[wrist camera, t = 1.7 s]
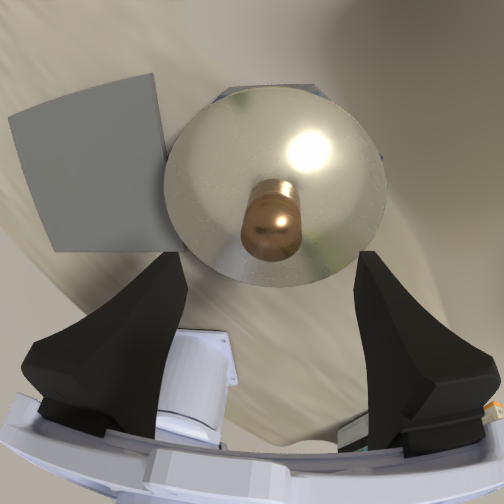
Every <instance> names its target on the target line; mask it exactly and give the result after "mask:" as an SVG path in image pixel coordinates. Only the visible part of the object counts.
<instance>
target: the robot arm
mask: <svg viewBox="0 0 504 504" xmlns="http://www.w3.org/2000/svg"><path fill="white" fill-rule="evenodd" d="M187 291H188V287H187V284H186V280H185V276H184V272H183V269H182V265H181V261H180V257H179V253H178V252H163V253H162V254H161V255H160V256H159V257H158V258H156V259H155V260H154V261H153V262H152V263H151V264H150V265H149V266H148V267H147V268H146V269H145V270H144V271H143V272H142V273H140V274H139V275H138V276H137V277H136V278H135V279H134V280H133V281H132V282H131V283H130V284H128V285H127V286H126V287H125V288H124V289H123V290H121V291H120V292H119V293H118V294H117V295H116V296H114V297H113V298H112V299H111V300H109V301H108V302H107V303H105V304H104V305H103V306H101V307H100V308H99V309H97V310H96V311H94V312H93V313H91V314H89V315H88V316H86V317H85V318H83V319H82V320H80V321H78V322H77V323H75V324H73V325H71V326H69V327H68V328H66V329H64V330H62V331H60V332H58V333H55V334H53V335H51V336H49V337H46V338H44V339H42V340H39V341H37V342H34V343H33V345H32V347H31V349H30V350H29V352H28V354H27V356H26V357H25V359H24V361H23V363H22V365H21V370H22V372H23V374H24V376H25V377H26V378H27V380H28V381H29V382H30V383H31V384H32V385H33V386H34V387H35V388H36V389H37V390H38V391H39V392H40V394H42V396H43V397H44V398H43V400H42V402H40V401H38V400H36V399H34V398H32V397H29V396H27V395H24V394H22V393H17V394H16V397H15V398H14V400H13V403H12V405H11V407H10V409H9V411H8V413H7V415H6V418H5V420H4V422H3V424H2V427H1V429H0V442H1V443H2V444H3V445H5V446H6V447H8V448H9V449H10V450H12V451H13V452H15V453H17V454H18V455H19V456H21V457H23V458H24V459H25V460H27V461H29V462H30V463H32V464H34V465H36V466H38V467H40V468H42V469H44V470H46V471H48V472H50V473H53V474H54V475H57V476H59V477H61V478H63V479H65V480H68V481H70V482H72V483H74V484H77V485H79V486H82V487H84V488H86V489H89V490H91V491H94V492H97V493H99V494H102V495H104V496H107V497H110V498H111V499H112V500H113V502H114V503H115V504H460V503H464V502H466V501H469V500H473V499H476V498H479V497H481V496H484V495H487V494H490V493H492V492H494V491H496V490H498V489H500V488H502V487H503V486H504V418H500V419H497V420H493V421H491V422H488V423H486V424H485V425H483V422H482V418H483V417H484V416H485V412H484V408H483V406H484V405H485V404H486V403H487V401H488V400H489V399H490V398H491V397H492V396H493V395H494V394H495V392H496V391H497V390H498V388H499V386H500V383H501V378H500V375H499V372H498V369H497V366H496V364H495V362H494V359H493V357H492V356H490V355H488V354H486V353H485V352H483V351H481V350H479V349H477V348H475V347H474V346H472V345H471V344H469V343H468V342H466V341H465V340H463V339H461V338H460V337H458V336H457V335H456V334H454V333H453V332H452V331H450V330H449V329H448V328H446V327H445V326H444V325H443V324H441V323H440V322H439V321H438V320H436V319H435V318H434V317H433V316H432V315H431V314H430V313H429V312H428V311H426V310H425V309H424V308H423V307H422V306H421V305H420V304H419V303H418V302H417V301H416V300H415V299H414V298H413V297H412V296H411V295H410V293H409V292H408V291H407V290H406V289H405V288H404V287H403V286H402V284H401V283H400V282H399V281H398V280H397V278H396V277H395V276H394V275H393V274H392V272H391V271H390V270H389V269H388V267H387V266H386V265H385V264H384V262H383V261H382V260H381V258H380V257H379V256H378V255H377V253H376V252H375V251H359V258H358V264H357V271H356V277H355V283H354V289H353V291H354V302H355V312H356V317H357V321H358V326H359V331H360V336H361V340H362V345H363V350H364V355H365V361H366V369H367V384H368V451H362V452H348V453H328V454H274V453H255V452H240V451H229V449H228V447H227V445H226V444H225V443H223V442H220V438H221V432H220V430H221V427H222V423H223V417H224V412H225V406H226V400H227V394H228V388H229V385H237V384H238V378H237V374H236V369H235V364H234V360H233V355H232V351H231V346H230V341H229V336H228V334H227V333H226V332H223V331H203V330H186V329H177V328H178V325H179V322H180V319H181V316H182V313H183V310H184V306H185V301H186V296H187Z"/></svg>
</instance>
